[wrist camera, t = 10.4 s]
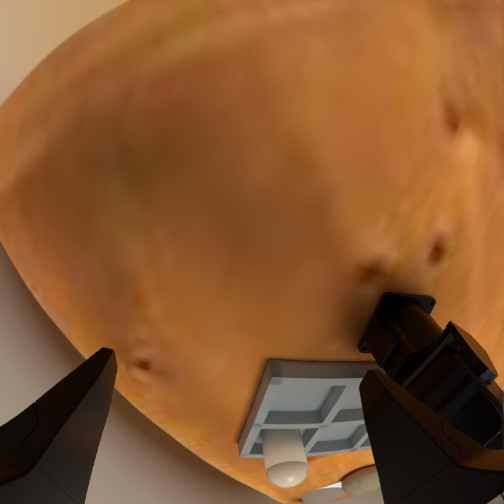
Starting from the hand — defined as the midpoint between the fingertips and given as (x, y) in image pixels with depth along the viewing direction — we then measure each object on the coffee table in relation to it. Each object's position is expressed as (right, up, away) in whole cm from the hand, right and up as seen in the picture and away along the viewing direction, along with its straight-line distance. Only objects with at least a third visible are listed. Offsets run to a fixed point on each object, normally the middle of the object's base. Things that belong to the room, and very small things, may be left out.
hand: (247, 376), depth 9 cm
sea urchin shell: (+22, -39, +33) cm, 56 cm away
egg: (+3, -17, +21) cm, 27 cm away
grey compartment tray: (+12, -15, +21) cm, 28 cm away
